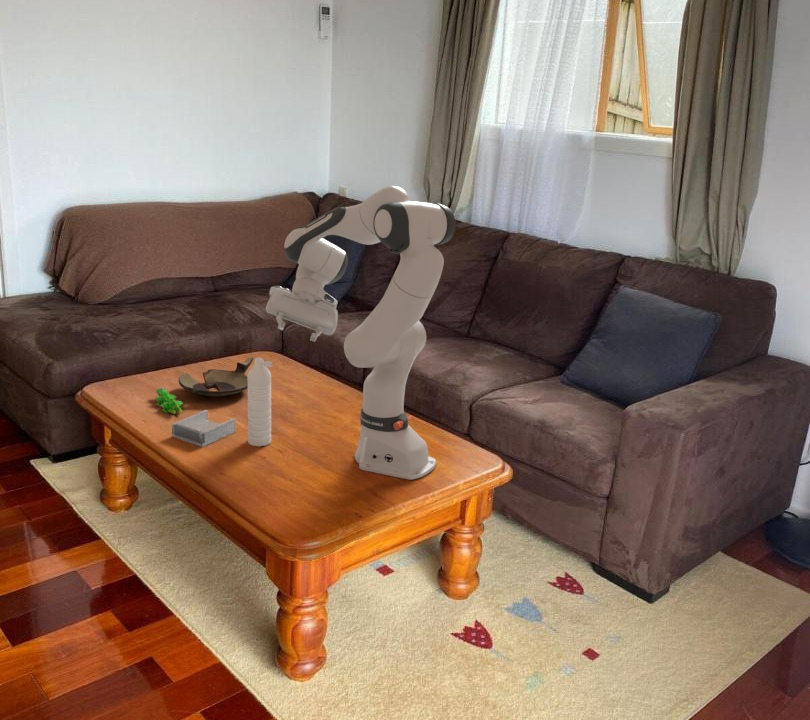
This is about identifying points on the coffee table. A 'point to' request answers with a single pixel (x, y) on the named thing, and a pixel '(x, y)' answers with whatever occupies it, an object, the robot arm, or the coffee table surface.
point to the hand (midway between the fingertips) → (297, 334)
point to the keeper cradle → (201, 429)
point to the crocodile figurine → (168, 401)
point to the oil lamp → (219, 381)
